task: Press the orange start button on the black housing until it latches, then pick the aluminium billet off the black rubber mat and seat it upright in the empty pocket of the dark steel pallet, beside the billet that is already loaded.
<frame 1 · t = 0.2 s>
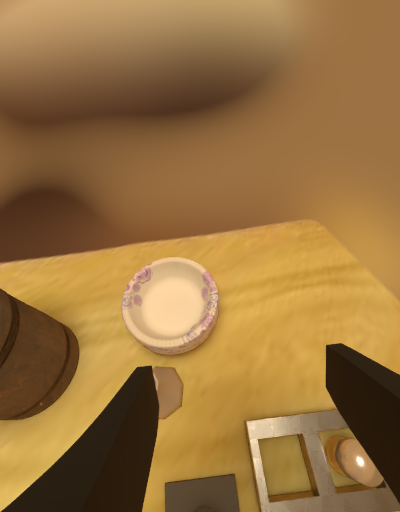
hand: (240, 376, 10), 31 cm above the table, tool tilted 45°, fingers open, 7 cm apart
wooden container: (34, 366, 40), on the table
pallet: (311, 458, 32), on the table
flask: (160, 391, 37), on the table
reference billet: (341, 454, 32), resting in pallet
paper bowls: (176, 314, 44), on the table
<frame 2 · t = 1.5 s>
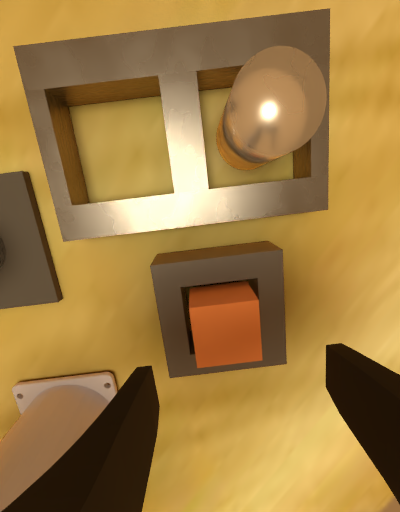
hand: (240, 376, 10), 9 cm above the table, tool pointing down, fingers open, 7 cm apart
pallet: (186, 144, 16), on the table
button housing: (217, 298, 18), on the table
start button: (223, 321, 15), point 4 cm above the table, slide at 0.0 cm
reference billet: (246, 137, 16), resting in pallet
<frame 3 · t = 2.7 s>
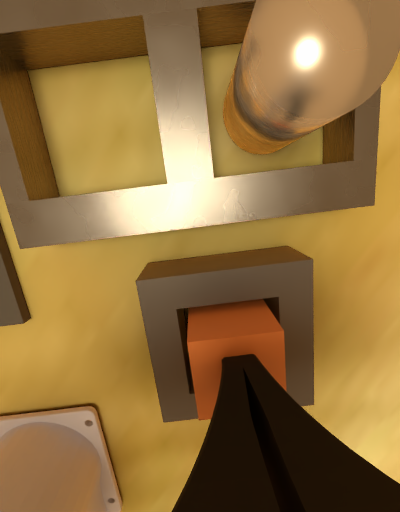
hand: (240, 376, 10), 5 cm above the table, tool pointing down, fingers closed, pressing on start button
pallet: (183, 121, 12), on the table
button housing: (224, 317, 15), on the table
start button: (233, 354, 11), point 3 cm above the table, slide at 0.0 cm, touching gripper
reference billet: (263, 111, 12), resting in pallet
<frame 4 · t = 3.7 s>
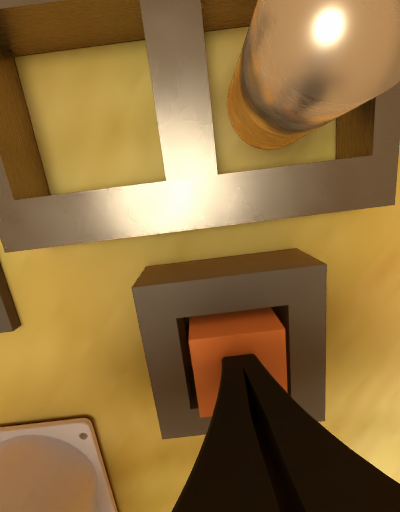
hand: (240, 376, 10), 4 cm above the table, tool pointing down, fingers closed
pallet: (184, 113, 11), on the table
button housing: (227, 325, 14), on the table
start button: (234, 352, 11), point 2 cm above the table, slide at 1.0 cm
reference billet: (271, 102, 11), resting in pallet
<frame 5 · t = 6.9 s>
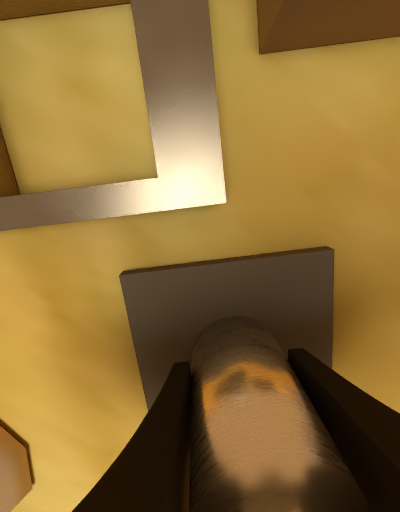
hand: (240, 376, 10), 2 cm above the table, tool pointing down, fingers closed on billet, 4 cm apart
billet: (235, 355, 11), point 1 cm above the table, touching gripper, rubber mat
rubber mat: (233, 347, 12), on the table
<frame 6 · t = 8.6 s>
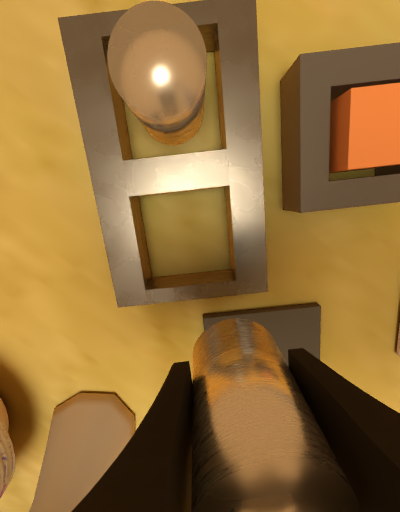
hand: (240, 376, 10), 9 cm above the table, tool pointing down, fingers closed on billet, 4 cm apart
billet: (234, 356, 11), point 7 cm above the table, touching gripper
pallet: (179, 176, 16), on the table
flask: (97, 420, 22), on the table
button housing: (341, 142, 16), on the table
start button: (366, 133, 14), point 2 cm above the table, slide at 1.0 cm
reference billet: (171, 111, 16), resting in pallet
rubber mat: (262, 357, 20), on the table
when the fingers open (3 cm above the table, at t = 10.4 s): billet drops 2 cm, resting in pallet.
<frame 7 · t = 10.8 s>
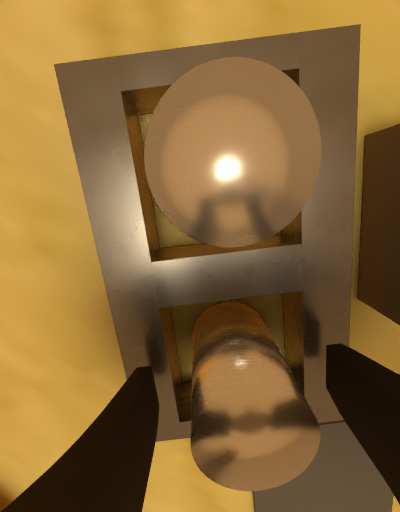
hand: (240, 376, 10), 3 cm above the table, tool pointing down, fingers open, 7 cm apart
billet: (229, 335, 13), resting in pallet
pallet: (221, 260, 12), on the table
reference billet: (213, 178, 11), resting in pallet
rubber mat: (319, 470, 16), on the table
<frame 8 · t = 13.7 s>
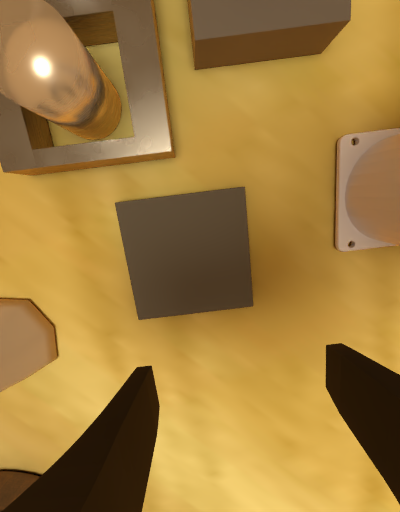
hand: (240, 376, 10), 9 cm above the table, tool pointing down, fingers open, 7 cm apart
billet: (90, 106, 16), resting in pallet
pallet: (74, 27, 15), on the table
flask: (16, 335, 20), on the table
rubber mat: (188, 255, 18), on the table
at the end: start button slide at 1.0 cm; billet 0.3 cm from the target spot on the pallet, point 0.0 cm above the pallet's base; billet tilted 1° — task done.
